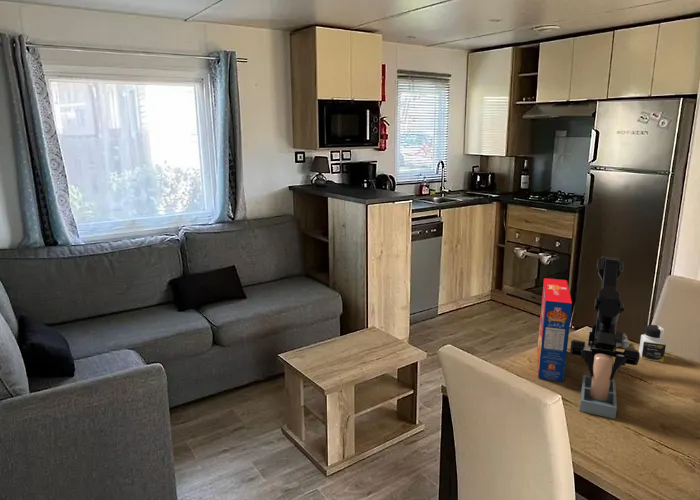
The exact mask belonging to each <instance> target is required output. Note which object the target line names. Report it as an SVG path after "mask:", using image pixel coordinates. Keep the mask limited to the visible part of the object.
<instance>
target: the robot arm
mask: <svg viewBox="0 0 700 500" xmlns="http://www.w3.org/2000/svg"><path fill="white" fill-rule="evenodd" d="M624 266H625V261H623V260H621V258H619V257H609V256H601V258H597V264H596V269H598V272H597V273H598V276H599V278H600V280H601V286H600V287H601V289H600V290H598V295H597V296H596V297H595V299H594V301H595V302H594V310H596V311H597V316H596V322H595V323H594V325H593V326H592V327H591V331H589V332H588V333H589V334H588V339H587V340H588V341H587V344H586V341H583V340H576V339H572V340H571V342H570V351H569V353H570V354H571V355H573V356H580V358H581V359H583V360H584V362H585V363H586V366H587V368H588V372H589V376H591V377H592V375H593V365H594V357H595V354H606V355H609V356H611V357H613V358H615V359H614V360H613V365H612V372H611V380H610V381H612V380H613V379H615V378H614V377H615V376H616V374H617V371H619V369H620V368H621V367H624V366H625V365H631V366H638V363H639V360H640V357H641V356H640V353H639V349H638V350H637V349H632V348H624V350H623V351H619V350H616V349H617V348H616V344H617V343H620V344H621V343H622V339H623V334H624V333H623V332H619V331H617V322H618V320H619V315H620V314H622V312H625V305H624V303H623V301H622V300H621V293H620V292H619V291H618V289H617V283H618V282H617V281H618V278H619V277H620V275H621V272H624ZM613 381H614V380H613Z"/></svg>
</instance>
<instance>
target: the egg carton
mask: <svg viewBox="0 0 700 500" xmlns="http://www.w3.org/2000/svg"><path fill="white" fill-rule="evenodd" d="M630 344H631V342H630V340H629V339H628V336H627V335H626V333H625V332H624V333H623V339H622V343H621V344H620V343H617V344H616V349H617V347H620V348H622V349H625V348H626V349H628V348H629V346H630Z"/></svg>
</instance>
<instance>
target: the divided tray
mask: <svg viewBox="0 0 700 500" xmlns="http://www.w3.org/2000/svg"><path fill="white" fill-rule="evenodd" d="M591 381H592V377H591V376H590V375H587V374H583V375H582V383H581V389H580V390H581V391H580V392H581V393H580V404H579V412H582V413H587V414H590V415H591V414H592V415H595V416H596V415H598V416H601V417H605V418H610V419H615V420H616V417H617V410H618V409H617V407H618V405H617V403H618V401H617V385H616V380H612V381H610V387H609V395H608V400H606V401H599V400H595V399H593V398H592V397H591V396H590V389H591Z"/></svg>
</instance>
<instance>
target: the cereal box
mask: <svg viewBox="0 0 700 500" xmlns="http://www.w3.org/2000/svg"><path fill="white" fill-rule="evenodd" d="M570 293H571V292H570V288H569V284H568V280H566V279H557V278H546V277H545V278H543V287H542V295H541V306H540V307H541V308H540V318H539V327H538V328H539V329H538V337H537V338H538V339H537V377H538V378H537V379H540V380H547V381H555V382H560V383H564V380H565V370H566V361H567V354H568V353H567V352H568V346H569V345H568V344H569V343H568V342H569V334H570V333H569V332H570V327H571V316H572V308H573V301H572V298H571V294H570Z"/></svg>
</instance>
